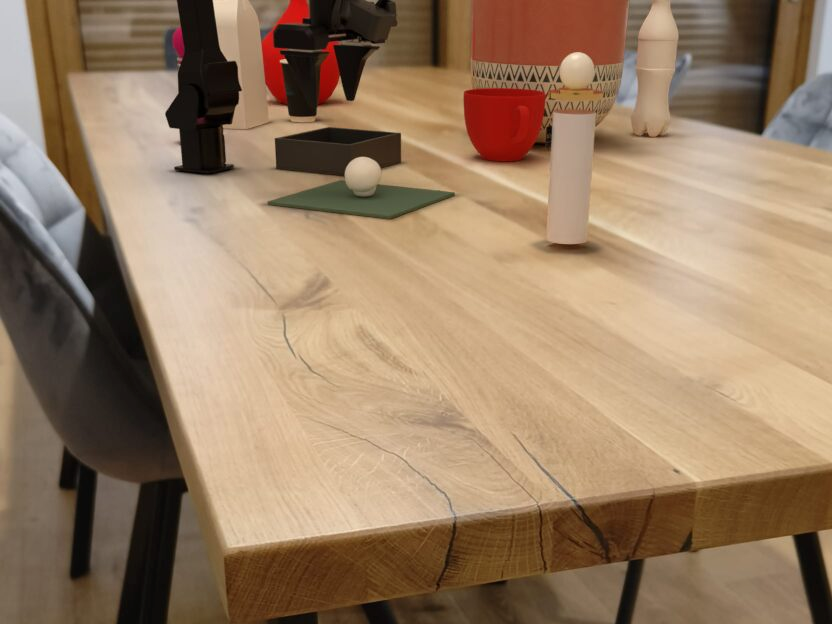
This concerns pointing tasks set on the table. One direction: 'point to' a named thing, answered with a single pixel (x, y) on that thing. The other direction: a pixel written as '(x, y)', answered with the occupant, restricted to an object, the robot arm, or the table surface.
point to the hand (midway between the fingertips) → (332, 104)
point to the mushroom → (363, 176)
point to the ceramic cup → (503, 121)
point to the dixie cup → (296, 97)
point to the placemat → (362, 200)
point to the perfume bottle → (571, 154)
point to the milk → (243, 59)
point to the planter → (548, 48)
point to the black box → (335, 149)
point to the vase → (272, 58)
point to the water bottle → (655, 70)
